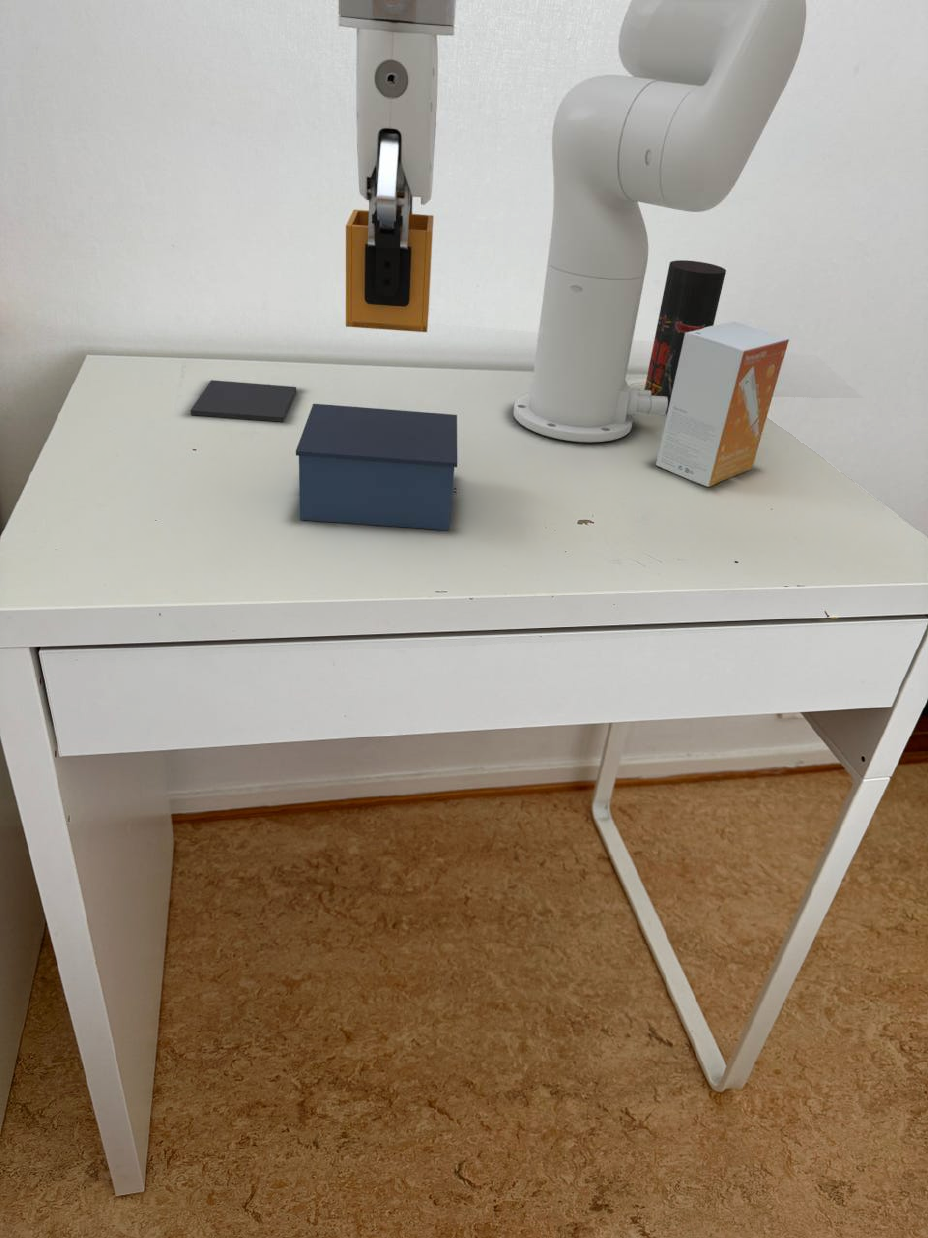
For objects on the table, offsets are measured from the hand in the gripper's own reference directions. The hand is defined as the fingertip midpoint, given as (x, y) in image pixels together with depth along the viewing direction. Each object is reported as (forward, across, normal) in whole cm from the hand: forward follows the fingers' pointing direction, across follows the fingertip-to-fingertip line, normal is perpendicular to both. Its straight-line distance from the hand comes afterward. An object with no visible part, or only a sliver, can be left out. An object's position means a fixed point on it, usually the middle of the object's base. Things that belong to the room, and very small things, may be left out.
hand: (389, 289), depth 69 cm
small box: (+18, +11, -31) cm, 37 cm away
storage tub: (+17, -1, 0) cm, 17 cm away
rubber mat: (+17, +19, +15) cm, 30 cm away
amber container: (+2, 0, 0) cm, 2 cm away
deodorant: (+18, +29, -31) cm, 46 cm away
